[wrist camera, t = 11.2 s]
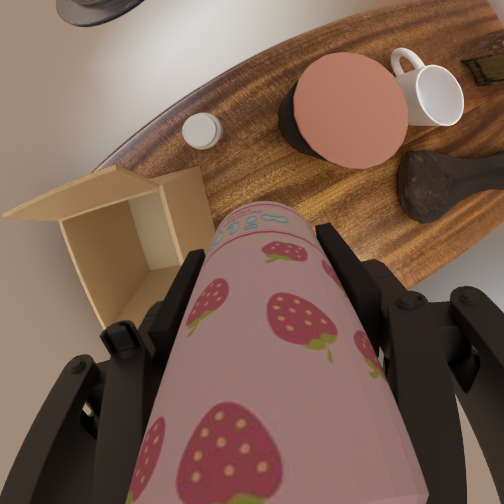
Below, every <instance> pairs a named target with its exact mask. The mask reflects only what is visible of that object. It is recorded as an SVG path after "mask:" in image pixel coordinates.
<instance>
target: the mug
mask: <svg viewBox="0 0 504 504" xmlns="http://www.w3.org/2000/svg"><path fill="white" fill-rule="evenodd" d="M402 56H403V57H405V58H407V59H408V60H409V61H410V62H411V63H412V65H413V66H414V68H415V70H413V71H410V72H407V73H404V72H403V70H402V68H401V66H400V63H399V59H400V57H402ZM391 65H392V68H393V70H394V73H395V75H396V77H394V78H395V79H396V81H397V82H398V84H399V85H400V87H401V88H402V90H403V93H404V96H405V99H406V102H407V105H408V125H412V126H450V125H453V124H455V123H456V122H457V121H458V120H459V119H460V118H461V116H462V113H463V109H464V98H463V93H462V90H461V87H460V85H459V83H458V82H457V80H456V79H455V77H454V76H453V75H452V74H451V73H450V72H449V71H447V70H446V69H445V68H443V67H440V66H437V65H428V66H425V65H424V64H423V62H422V61H421V59H420V58H419V57H418V56H417V55H416V54H415V53H414V52H412V51H410V50H408V49H406V48H397V49H395V50H394V51H393V52H392V54H391Z"/></svg>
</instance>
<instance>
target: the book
mask: <svg viewBox="0 0 504 504" xmlns="http://www.w3.org/2000/svg"><path fill="white" fill-rule="evenodd" d="M461 61H462V62H463V63H466V64H467V65H468V66H469V67H470V69H471V70H472V72H473V74H474V76H475V79H476V84H477V85H478V86H487V85H499V84H504V30H500V31H496V32H493V33H489V34H487V35H486V36H485V37H484V38H483V39H482V40H481V41H480V42H479V43H478V44H477V45H476V46H475V47H474V48H473V49H472V50H471V51H470V52H469V53H468V54H467V55H466V56H465V57H464V58H463V59H462V60H461Z"/></svg>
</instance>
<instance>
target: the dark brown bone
mask: <svg viewBox="0 0 504 504" xmlns="http://www.w3.org/2000/svg"><path fill="white" fill-rule="evenodd" d="M490 189H502V190H504V150H503V151H501V152H499V153H497V154H494V155H492V156H489V157H484V158H477V159H465V158H457V157H452V156H448V155H444V154H440V153H436V152H432V151H426V150H422V151H407V152H406V153H405V155H404V156H403V157H402V159H401V163H400V167H399V173H398V192H399V196H400V203H401V206H402V208H403V209H404V211H405V213H406V214H407V215H408V216H409V217H410V218H411V219H412V220H414V221H417V222H419V223H421V224H425V223H431V222H434V221H436V220H438V219H439V218H441V217H442V216H443V215H444V214H445V213H446V212H447V211H449V210H450V209H451V208H452V207H453V206H455V205H456V204H457V203H458V202H460V201H461V200H463V199H464V198H466V197H468V196H471V195H472V194H474V193H477V192H480V191H484V190H490Z"/></svg>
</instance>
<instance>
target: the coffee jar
mask: <svg viewBox="0 0 504 504" xmlns="http://www.w3.org/2000/svg"><path fill="white" fill-rule="evenodd" d="M278 118H279V127H280V130H281V132H282V135H283V137H284V138H285V139H286V141H287V142H288V143H289V144H290V146H292V147H293V148H295V149H296V150H297V151H299V152H301V153H304V154H307V155H310V156H313V157H316V158H319V159H322V160H324V161H327V162H330V163H333V164H336V165H339V166H342V167H345V168H353V169H366V168H370V167H373V166H376V165H380V164H382V163H383V162H385V161H386V160H387V159H389V158H390V157H391V156H393V155H394V154H395V153H396V151H397V150H398V148H399V147H400V146H401V144H402V143H403V141H404V138H405V135H406V131H407V128H408V105H407V102H406V99H405V96H404V93H403V90H402V88H401V87H400V85H399V84H398V82H397V81H396V79H395V78H394V76H393V75H392V74H391V73H390V72H389V71H388V70H387V69H385V68H384V67H383V66H382V65H381V64H380V63H378V62H377V61H374V60H372V59H370V58H368V57H366V56H364V55H361V54H355V53H347V52H340V53H334V54H329V55H325V56H323V57H321V58H320V59H318V60H316V61H315V62H313V63H311V64H310V65H309V66H308V68H307V69H306V70H305V71H304V73H303V74H302V75H301V77H300V78H299V79H298V80H297V82H296V83H295V84H294V86H293V87H292V89H291V90H290V91H289V93H288V94H287V96H286V97H285V98H284V100H283V101H282V103H281V106H280V109H279V113H278Z"/></svg>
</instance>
